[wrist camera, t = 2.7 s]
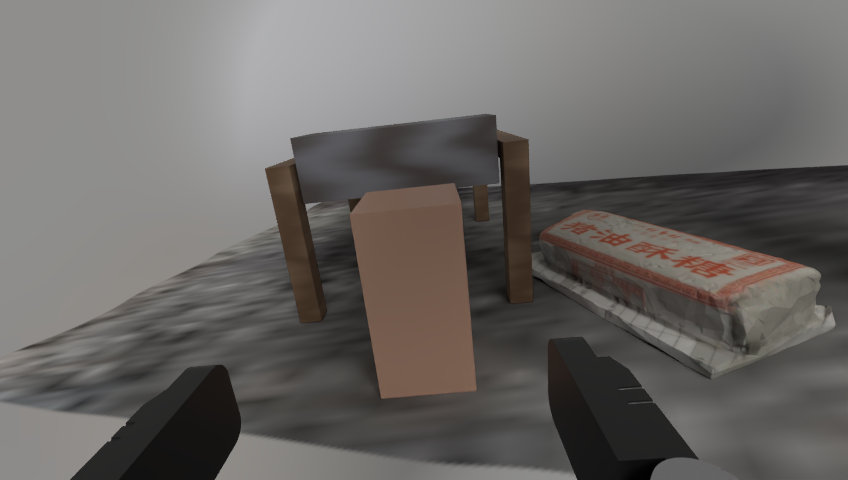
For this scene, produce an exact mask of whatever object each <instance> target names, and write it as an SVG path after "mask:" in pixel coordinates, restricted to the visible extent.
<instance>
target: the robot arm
mask: <svg viewBox="0 0 848 480" xmlns="http://www.w3.org/2000/svg"><path fill="white" fill-rule="evenodd" d="M548 395H549V404H550V409H551V414H552V417H553V420H554V423H555V426H556V428H557V430H558V433H559V435H560V438H561V440H562V443H563V445H564V448H565V450H566V453H567V455H568V458H569V460H570V463H571V465H572V468H573V470H574V473H575V475H576V478H577V480H739V479H737V478H736V477H735V476H733V475H732V474H730V473H728V472H727V471H725V470H723V469H721V468H719V467H717V466H715V465H713V464H710V463H707V462H704V461H701V460H699V459H698V458H697V456H696V455H695V454H694V453H693V451H692V450H691V449H690V447H689V446H688V445H687V444H686V442H685V441H684V440H683V438H682V437H681V436H680V435H679V433H678V432H677V431H676V429H675V428H674V427H673V426H672V424H671V423H670V422H669V420H668V419H667V418H666V417H665V415H664V414H663V413H662V411H661V410H660V409H659V408H658V406H657V405H656V404H655V403H654V404H653V401H652V399H651V397H650V396H649V395H648V393H647V392H646V391H645V390H644V389H642V386H641V384H640V383H639V382H638V381H637V379H636V378H635V377H634V375H633V374H632V373H631V372H630V370H629V369H627V368H626V367H624V366H623V365H621V364H620V363H618V362H617V361H615V360H614V359H612V358H611V357H609V356H608V357H596V355H595V354H594V353H593V351H592V350H591V348H590V347H589V345H588V344H587V342H586V341H585V340H584V338H583V337H572V338H559V339H550V340H549V343H548ZM240 428H241V417H240V412H239V409H238V406H237V402H236V399H235V395H234V392H233V388H232V385H231V381H230V378H229V374H228V371H227V369H226V368H225V367H224V366H223V365H210V366H198V367H190V368H188V369H186V370H185V371H184V372H183V373H182V374H181V375H180V376H179V377H178V378H177V379H176V380H175V381H174V382H173V384H172V385H171V386H170V387H169V388H168V389H167V390H165V391H163V392H162V393H161V394H159V395H158V396H156V397H155V398H153V399H152V400H150V401H149V402H147V403H146V404H144V405H143V406H142V407H141V408H140V409H139V410H138V411H137V412H136V413H135V414H134V415H133V416H132V417H131V418H130V419H129V420H128V421H127V422H126V426H123V427H121V428H120V429H119V431H118V432H116V434H115V435H114V436H113V437H112V438H111V441H110V442H107V443H106V444H105V445H104V446H103V447H102V448H101V449H100V450H99V451H98V452H97V453H96V454H95V455H94V456H93V457H92V458H91V459H90V460H89V461H88V462H87V463H86V464H85V465H84V466H83V467H82V468H81V469H80V470H79V471H78V472H77V473H76V474H75V475H74V476H73V477H72V478H71V480H215V478H216V476H217V474H218V473H219V471H220V470H221V468H222V466H223V465H224V463H225V461H226V460H227V458H228V456H229V454H230V452H231V451H232V449H233V448H234V446H235V444H236V442H237V440H238V437H239V434H240Z"/></svg>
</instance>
